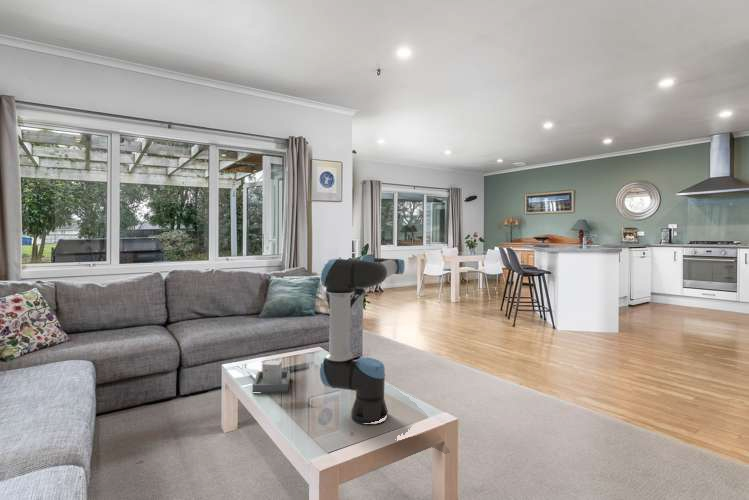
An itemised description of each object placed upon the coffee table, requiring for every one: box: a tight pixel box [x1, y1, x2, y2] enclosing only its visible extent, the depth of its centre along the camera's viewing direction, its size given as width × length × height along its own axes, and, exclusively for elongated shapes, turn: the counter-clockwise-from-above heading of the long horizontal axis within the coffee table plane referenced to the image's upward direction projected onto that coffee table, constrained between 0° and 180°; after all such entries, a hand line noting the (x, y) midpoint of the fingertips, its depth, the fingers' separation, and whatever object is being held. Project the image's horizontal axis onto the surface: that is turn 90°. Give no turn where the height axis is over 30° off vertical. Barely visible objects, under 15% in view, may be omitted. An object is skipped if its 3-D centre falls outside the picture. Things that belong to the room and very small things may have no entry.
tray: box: [252, 370, 291, 394], centre depth 193 cm, size 18×16×4 cm
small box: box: [262, 360, 283, 384], centre depth 192 cm, size 8×6×10 cm
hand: (331, 315), depth 203 cm, fingers open, 13 cm apart
